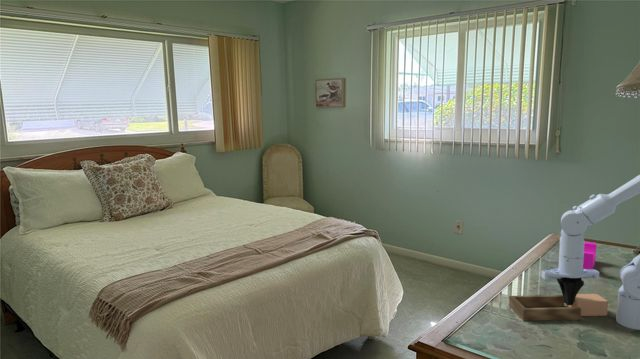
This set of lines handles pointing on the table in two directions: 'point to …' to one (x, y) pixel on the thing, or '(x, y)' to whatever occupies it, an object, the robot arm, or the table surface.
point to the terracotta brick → (590, 304)
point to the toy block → (589, 255)
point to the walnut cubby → (543, 313)
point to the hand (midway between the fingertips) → (568, 303)
